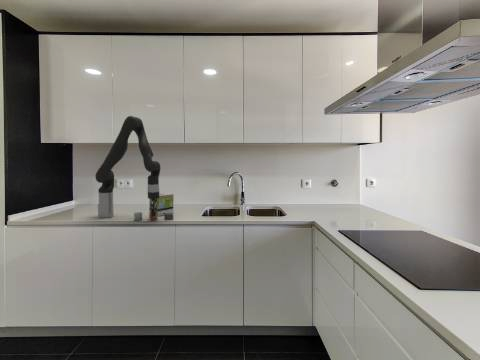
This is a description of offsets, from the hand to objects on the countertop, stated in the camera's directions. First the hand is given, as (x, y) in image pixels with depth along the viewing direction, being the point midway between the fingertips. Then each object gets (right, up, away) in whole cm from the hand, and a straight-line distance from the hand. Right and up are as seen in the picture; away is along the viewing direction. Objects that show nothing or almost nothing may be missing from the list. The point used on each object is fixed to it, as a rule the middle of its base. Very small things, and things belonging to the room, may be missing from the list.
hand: (154, 215), depth 201 cm
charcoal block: (+9, -3, +2) cm, 10 cm away
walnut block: (0, -3, 0) cm, 3 cm away
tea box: (0, -2, +20) cm, 21 cm away
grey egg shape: (-10, -3, -1) cm, 11 cm away
